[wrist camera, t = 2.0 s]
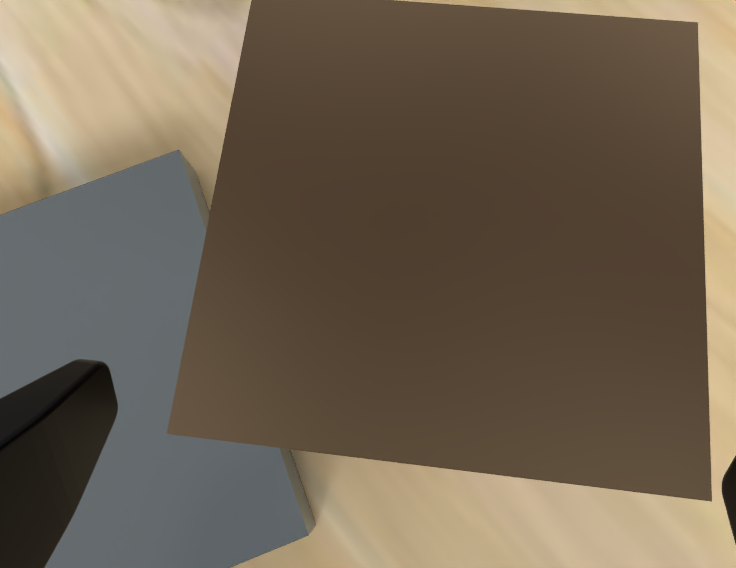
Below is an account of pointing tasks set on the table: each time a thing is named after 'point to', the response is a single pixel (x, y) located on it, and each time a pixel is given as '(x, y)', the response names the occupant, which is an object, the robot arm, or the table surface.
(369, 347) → the walnut handle
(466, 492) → the table surface
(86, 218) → the slate board
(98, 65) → the table surface
